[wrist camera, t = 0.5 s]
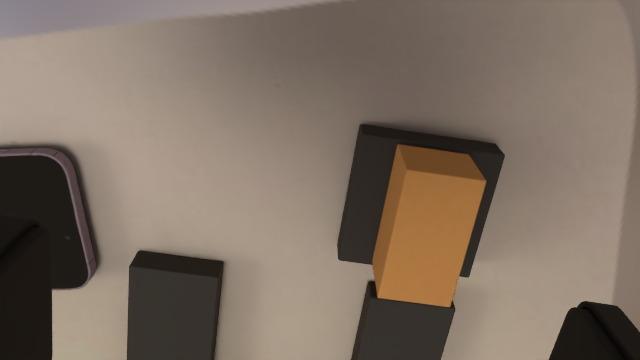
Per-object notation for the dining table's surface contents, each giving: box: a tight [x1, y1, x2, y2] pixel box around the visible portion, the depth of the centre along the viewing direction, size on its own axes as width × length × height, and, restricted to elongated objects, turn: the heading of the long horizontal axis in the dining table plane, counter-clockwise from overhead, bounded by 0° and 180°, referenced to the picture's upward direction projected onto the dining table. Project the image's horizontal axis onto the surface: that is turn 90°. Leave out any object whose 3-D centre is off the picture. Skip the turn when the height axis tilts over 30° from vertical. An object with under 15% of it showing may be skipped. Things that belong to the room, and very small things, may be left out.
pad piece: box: [337, 125, 505, 307], centre depth 26 cm, size 6×6×4 cm
